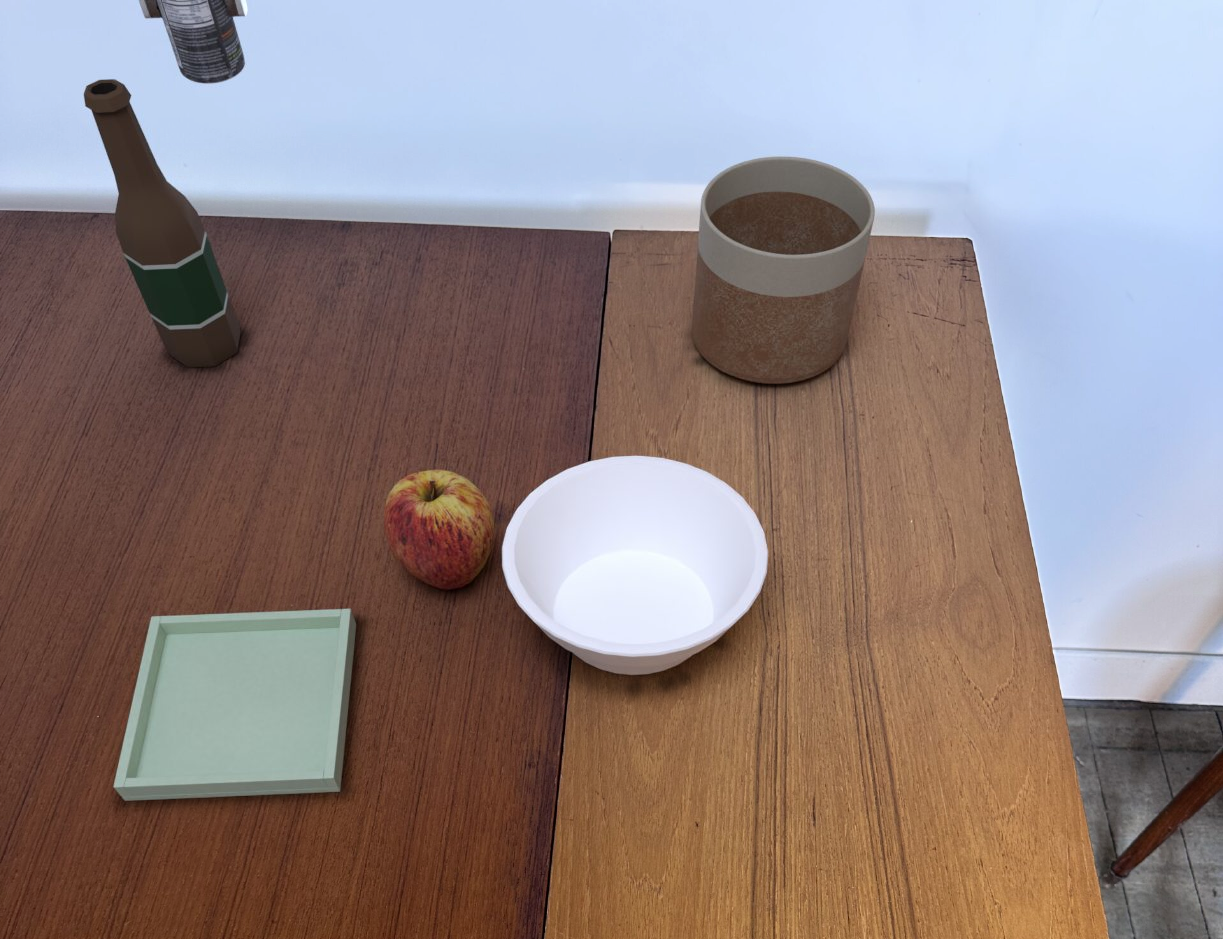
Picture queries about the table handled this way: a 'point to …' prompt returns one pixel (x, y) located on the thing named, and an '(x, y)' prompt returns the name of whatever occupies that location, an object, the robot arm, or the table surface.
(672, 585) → the bowl
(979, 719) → the table surface
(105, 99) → the beer bottle
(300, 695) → the tray
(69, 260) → the table surface
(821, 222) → the planter
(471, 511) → the apple
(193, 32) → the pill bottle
